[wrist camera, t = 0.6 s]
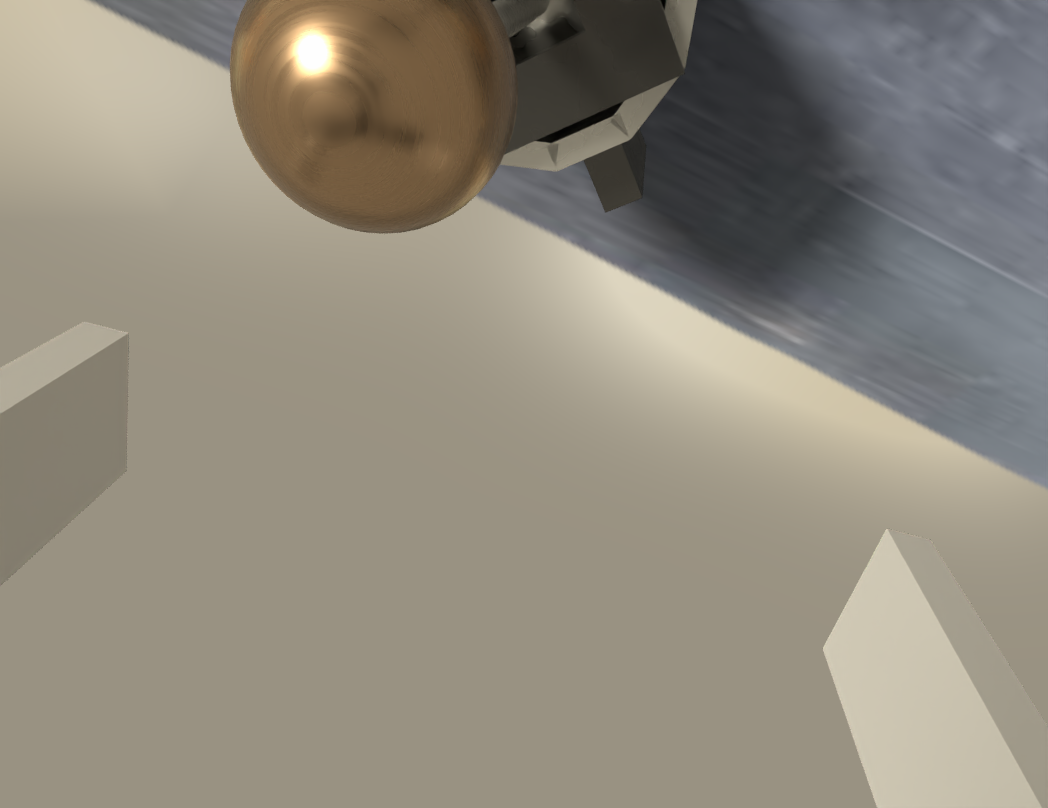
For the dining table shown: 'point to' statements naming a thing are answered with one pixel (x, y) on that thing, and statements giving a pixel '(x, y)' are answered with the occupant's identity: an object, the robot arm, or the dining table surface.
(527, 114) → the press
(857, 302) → the dining table surface
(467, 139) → the plunger
